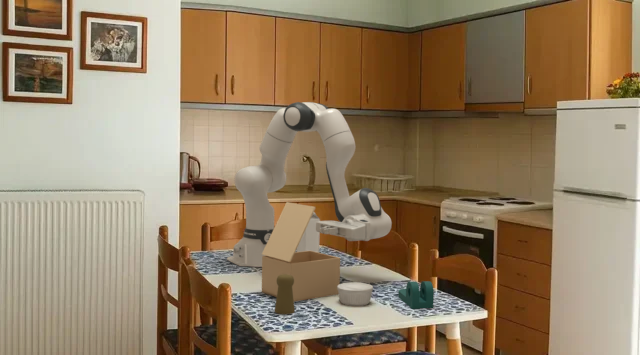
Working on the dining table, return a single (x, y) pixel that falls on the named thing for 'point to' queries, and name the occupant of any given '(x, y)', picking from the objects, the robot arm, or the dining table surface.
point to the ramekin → (355, 293)
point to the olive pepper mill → (285, 295)
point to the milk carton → (310, 236)
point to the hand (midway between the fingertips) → (322, 231)
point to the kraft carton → (303, 274)
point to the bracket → (418, 295)
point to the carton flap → (288, 231)
